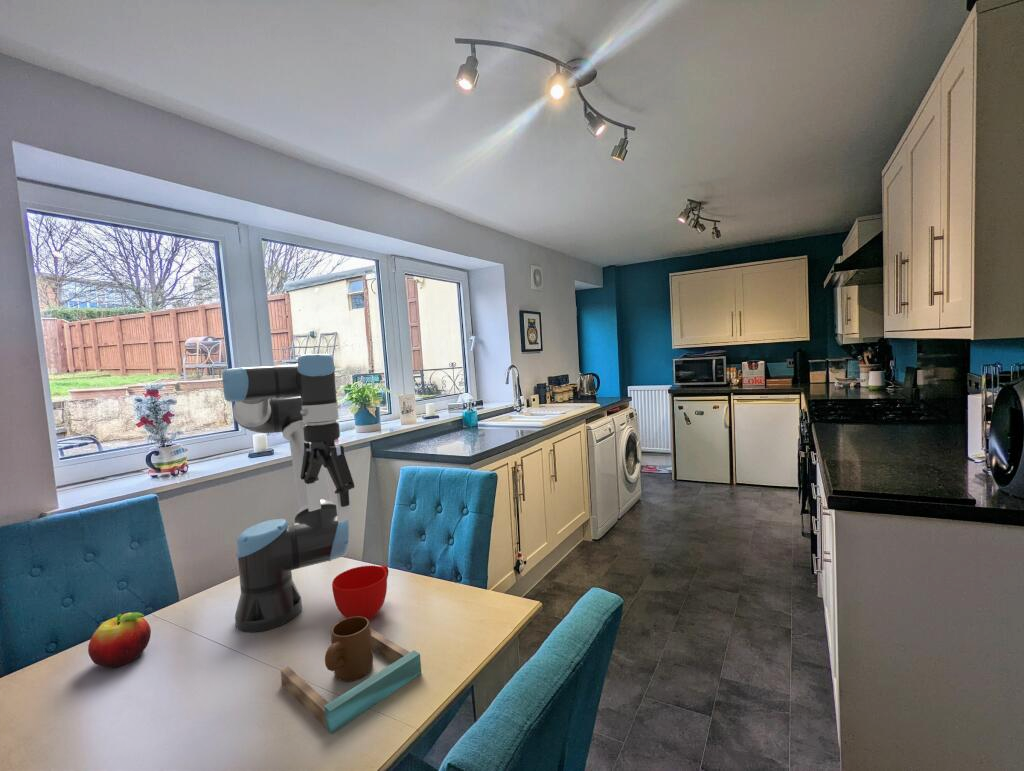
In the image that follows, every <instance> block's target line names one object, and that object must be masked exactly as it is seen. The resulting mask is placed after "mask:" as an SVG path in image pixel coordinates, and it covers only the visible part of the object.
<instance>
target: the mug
mask: <svg viewBox="0 0 1024 771" xmlns="http://www.w3.org/2000/svg"><path fill="white" fill-rule="evenodd" d="M370 628H371V625H370V621H368V619H367V618H365V617H360V616H356V617H350V618H344V619H342V620H340V621H338V622H337V623H336V624H334V625H333V627H331V640H330V641H331V644H330V646H329V647H328V648H327V650H326V652H325V655H324V664H325V667H326V669H327V670H328V671H330V672H334V675H335V678H337V679H338V680H339V681H342V682H353V681H356V680H359V679H361V678H363V677H364V676H366V675H367V674H368V673H369V672H370V671H371V670H372V668H373V665H374V664H373V663H374V659H373V658H374V656H373V649H372V642H371V630H370Z"/></svg>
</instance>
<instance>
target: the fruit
mask: <svg viewBox="0 0 1024 771" xmlns="http://www.w3.org/2000/svg"><path fill="white" fill-rule="evenodd" d="M145 616H146V615H144V614H143V613H141V612H137V611H136V612H127V613H124V614H122V613H120V614H118V615H117V616H115V617H113V618H110V619H107V620H106V621H103V622H102V623H101V624H100V625H99V626H98V627H97V628H96V629H95V631H94V633H93V634H92V636H91V637H90V640H89V643H88V647H87V652H88V655H89V658H90V659H91V661H92V663H93V664H95V665H97V666H99V667H102V668H108V669H112V668H117V667H120V666H123V665H126V664H129V663H131V662H132V661H134V660H135V659H137V658H138V657H139V656H140V655H141V654H142V653H143V652H144V651H145V650H146V648H147V646H148V645H149V642H150V638H151V634H152V630H151V626H150V623H148V622H149V621H147V620H146V619H145V618H144V617H145Z"/></svg>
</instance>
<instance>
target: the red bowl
mask: <svg viewBox="0 0 1024 771" xmlns="http://www.w3.org/2000/svg"><path fill="white" fill-rule="evenodd" d="M388 577H389V567H387V566H386V565H381V566H379V565H362V566H357V567H353V568H350V569H347V570H345V571H343V572H341V573H339V574H338V575H336V576H335V577H334V578H333V580H332V583H331V589H332V594H333V598H334V602H335V605H336V607H337V611H338V612H340V614H341V615H342V616H343V617H344V619H346V618H350V617H356V616H360V617H365V618H367V619H368V621H369V622H370V621H371V620H373V619H374V618H375V617H376V616H377V614H378V613H379V612H380V610H381V608H382V607H383V605H384V602H385V600H386V596H387V590H388Z"/></svg>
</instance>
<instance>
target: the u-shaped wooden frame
mask: <svg viewBox="0 0 1024 771" xmlns="http://www.w3.org/2000/svg"><path fill="white" fill-rule="evenodd" d="M370 630H371V642H372V650H373V651H375V652H376V653H378V654H380V655H381V656H383V657H384V658H386V659H388V660H389V661H390V662H392V663H391V664H389V665H388V666H386V667H384V668H383V669H381V670H379V671H378V672H377V673H374V674H373V675H371V677H368V678H367V679H365V680H364V681H362V682H360V683H358V684H357V685H356V686H354V687H353V688H350V690H347V691H345V692H344V693H343V694H341V695H340V696H338V697H336V698H335V699H333V700H331V701H330V702H329V701H327V699H325V698H324V697H323V696H322V695H321V694H320V693H318V691H316V690H315V689H314V688H313V687H312V686H311V685H310V684H309V683H308V682H306V681H305V680H304V679H303V678H302V677H301V676H300V675H299V674H298V673H296V672H295V670H293V669H292V668H291V667H290V666H286V667H284V668H281V669H280V680H281V681H280V682H281V686H282V687H283V688H285V689H286V690H287V691H288V693H290V694H291V695H292V696H293V697H294V699H295V700H297V701H298V703H300V704H301V705H302V706H303V707H304V708H305V709H306V710H307V711H308V712H309V713H310V714H311V715H312V716H313V717H314V718H315V719H316V720H317V721H318V722H319V723H320V724H321V725H322V726H324V728H325V729H326V730H327V731H328V732H329V733H330V734H333V733H335V732H336V731H338V730H340V729H341V728H342V727H344V726H345V725H347V724H348V723H351V721H353V720H355V719H356V718H358V717H359V716H360V715H362V714H363V713H365V712H366V711H368V710H369V709H370V708H372V707H373V706H375V705H376V704H378V703H380V702H381V701H382V700H384V699H385V698H387V697H388V696H390V695H391V694H392V693H394V692H395V691H397V690H399V689H400V688H401V687H403V686H404V685H406V684H408V683H409V682H410V681H412V680H414V678H416V677H418V676H419V675H420V674H422V664H421V663H422V662H421V654H420V652H418V651H416V650H415V649H414V650H412V651H409V650H407V649H405V648H404V647H402V646H401V645H399V644H397V643H396V642H394V641H393V640H392V639H389V638H387V637H385V636H384V635H383V634H381V633H379V632H378V631H376V630H374V629H373V628H372V627H370Z"/></svg>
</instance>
